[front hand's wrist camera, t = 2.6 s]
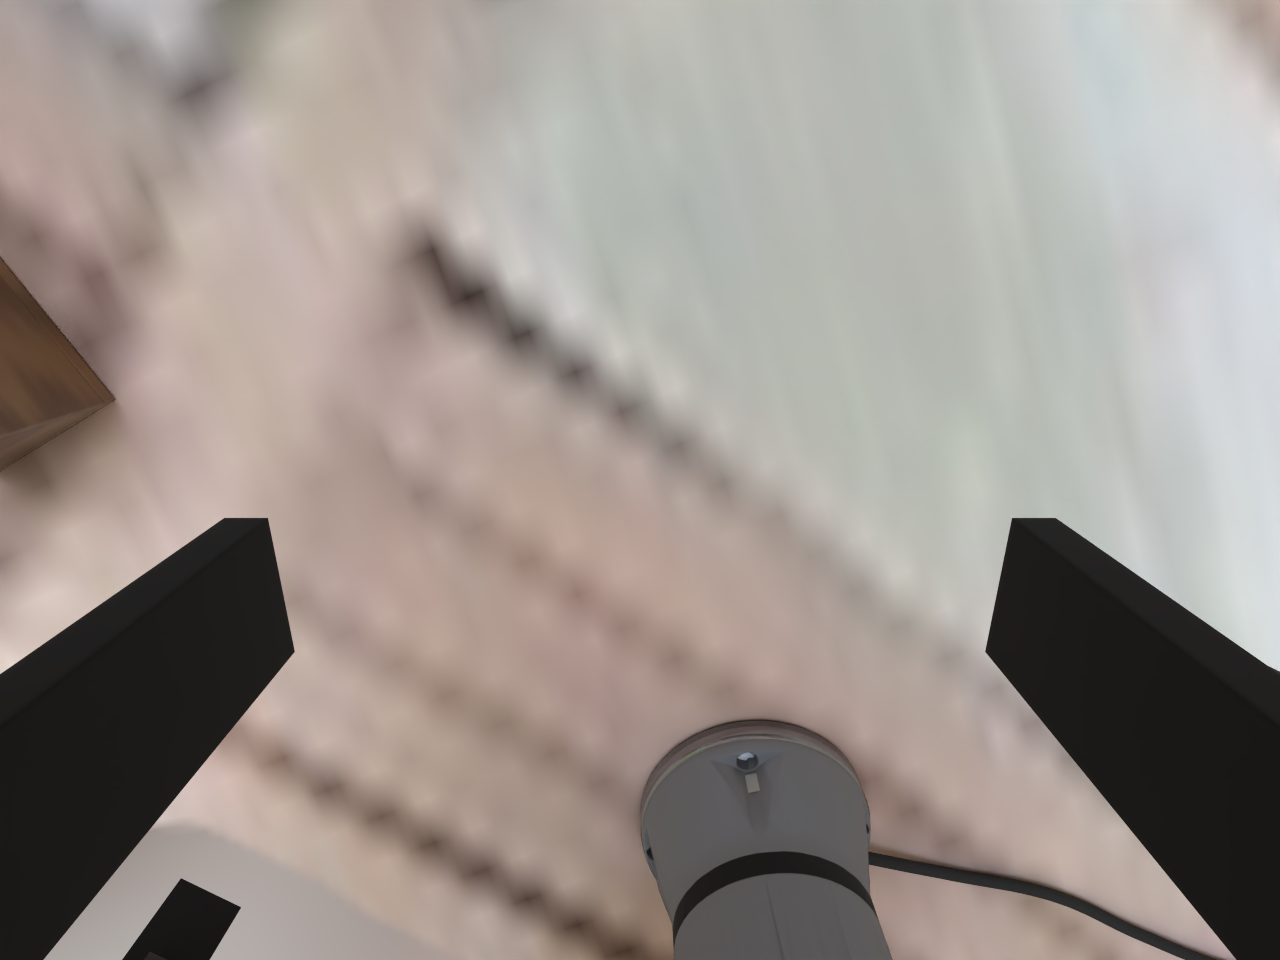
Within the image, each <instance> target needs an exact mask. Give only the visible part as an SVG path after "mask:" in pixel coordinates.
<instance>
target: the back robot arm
mask: <svg viewBox="0 0 1280 960" xmlns="http://www.w3.org/2000/svg"><path fill="white" fill-rule="evenodd" d="M641 840H642V846H643V850H644V853H645V856H646V859H647V862H648V864H649V867H650V869H651V871H652V873H653V875H654V877H655V878H656V880H657V885H658V888H659V891H660V894H661V897H662V900H663V902H664V905H665V907H666V910H667V912H668V915H669V917H670V920H671V922H672V926H673V943H674V960H892V957H891V954H890V951H889V948H888V945H887V943H886V940H885V937H884V934H883V931H882V928H881V926H880V923H879V920H878V917H877V914H876V911H875V908H874V906H873V903H872V900H871V896H870V879H869V865H874V866H879V867H884V868H889V869H894V870H899V871H904V872H909V873H914V874H919V875H924V876H930V877H935V878H940V879H945V880H950V881H956V882H961V883H966V884H972V885H978V886H984V887H990V888H996V889H1002V890H1007V891H1012V892H1017V893H1022V894H1027V895H1031V896H1035V897H1039V898H1043V899H1046V900H1049V901H1053V902H1056V903H1059V904H1062V905H1064V906H1067V907H1070V908H1072V909H1075V910H1077V911H1079V912H1081V913H1084V914H1086V915H1088V916H1090V917H1092V918H1094V919H1096V920H1098V921H1100V922H1102V923H1104V924H1106V925H1108V926H1110V927H1112V928H1114V929H1116V930H1118V931H1120V932H1122V933H1124V934H1126V935H1128V936H1130V937H1133V938H1135V939H1137V940H1140V941H1142V942H1144V943H1147V944H1149V945H1151V946H1154V947H1156V948H1158V949H1161V950H1163V951H1165V952H1168V953H1170V954H1172V955H1175V956H1177V957H1180V958H1182V959H1185V960H1216V959H1213V958H1210V957H1208V956H1205V955H1202V954H1200V953H1197V952H1194V951H1192V950H1189V949H1187V948H1185V947H1182V946H1180V945H1177V944H1175V943H1173V942H1170V941H1168V940H1166V939H1163V938H1161V937H1159V936H1157V935H1154V934H1152V933H1150V932H1147V931H1145V930H1143V929H1140V928H1138V927H1136V926H1133V925H1131V924H1129V923H1127V922H1125V921H1123V920H1121V919H1119V918H1117V917H1115V916H1113V915H1111V914H1109V913H1107V912H1105V911H1103V910H1101V909H1099V908H1097V907H1095V906H1093V905H1091V904H1089V903H1087V902H1085V901H1083V900H1080V899H1078V898H1076V897H1073V896H1070V895H1068V894H1065V893H1062V892H1059V891H1056V890H1053V889H1050V888H1046V887H1043V886H1039V885H1036V884H1032V883H1028V882H1023V881H1019V880H1014V879H1009V878H1004V877H998V876H992V875H986V874H980V873H974V872H969V871H963V870H958V869H953V868H948V867H943V866H938V865H932V864H927V863H922V862H917V861H912V860H907V859H902V858H897V857H892V856H887V855H882V854H878V853H873V852H868V848H869V842H870V814H869V807H868V803H867V800H866V797H865V795H864V792H863V790H862V787H861V785H860V782H859V780H858V777H857V775H856V773H855V771H854V769H853V767H852V765H851V764H850V763H849V761H848V760H847V758H846V757H845V756H844V755H843V754H842V753H841V752H840V751H839V750H838V749H837V748H836V747H835V746H834V745H832V744H831V743H829V742H828V741H827V740H825V739H824V738H822V737H820V736H818V735H817V734H815V733H812V732H810V731H808V730H806V729H803V728H800V727H797V726H793V725H789V724H785V723H779V722H772V721H744V722H736V723H730V724H726V725H721V726H718V727H715V728H712V729H709V730H706V731H704V732H701V733H699V734H697V735H695V736H693V737H691V738H689V739H688V740H686V741H684V742H683V743H681V744H680V745H678V746H677V747H676V748H675V749H673V750H672V751H671V752H670V753H669V754H668V755H667V756H666V757H665V758H664V759H663V760H662V761H661V762H660V763H659V765H658V766H657V767H656V769H655V770H654V771H653V773H652V774H651V776H650V778H649V780H648V782H647V785H646V787H645V790H644V793H643V797H642V803H641ZM240 908H241V907H239V906H237V905H235V904H233V903H231V902H229V901H227V900H225V899H223V898H221V897H219V896H216V895H214V894H212V893H210V892H208V891H206V890H204V889H202V888H200V887H198V886H196V885H194V884H192V883H190V882H187V881H185V880H183V879H180V881H179V882H178V883H177V885H176V886H175V888H174V889H173V890H172V892H171V893H170V894H169V896H168V897H167V899H166V900H165V901H164V903H163V904H162V905H161V907H160V908H159V910H158V911H157V912H156V914H155V915H154V917H153V918H152V919H151V921H150V922H149V924H148V925H147V926H146V928H145V929H144V930H143V932H142V933H141V935H140V936H139V937H138V939H137V940H136V941H135V943H134V944H133V946H132V947H131V948H130V950H129V951H128V953H127V954H126V955H125V957H124V958H123V959H122V960H210V958H211V956H212V955H213V953H214V951H215V950H216V948H217V946H218V945H219V943H220V941H221V940H222V938H223V936H224V935H225V933H226V932H227V930H228V928H229V927H230V925H231V923H232V922H233V920H234V918H235V917H236V915H237V913H238V911H239V910H240Z"/></svg>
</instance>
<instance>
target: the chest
mask: <svg viewBox="0 0 1280 960" xmlns="http://www.w3.org/2000/svg"><path fill="white" fill-rule="evenodd" d="M114 400H115V399H114V397H113V396H112V395H111V394H110V393H109V391H108V390H107V389H106V388H105V386H104V385H103V384H102V383H101V381H100V380H99V379H98V378H97V376H96V375H95V374H94V373H93V372H92V370H91V369H90V368H89V367H88V365H87V364H86V363H85V362H84V360H83V359H82V358H81V357H80V356H79V354H78V353H77V352H76V351H75V349H74V348H73V347H72V346H71V344H70V343H69V342H68V341H67V340H66V338H65V337H64V336H63V335H62V333H61V332H60V331H59V330H58V328H57V327H56V326H55V325H54V324H53V322H52V321H51V320H50V319H49V317H48V316H47V315H46V314H45V312H44V311H43V310H42V309H41V308H40V306H39V305H38V304H37V303H36V301H35V300H34V299H33V298H32V296H31V295H30V294H29V293H28V292H27V290H26V289H25V288H24V287H23V285H22V284H21V283H20V282H19V280H18V279H17V278H16V277H15V276H14V274H13V273H12V272H11V271H10V269H9V268H8V267H7V266H6V264H5V263H4V262H3V261H2V260H1V258H0V471H1V470H2V469H4V468H6V467H7V466H9V465H10V464H12V463H14V462H15V461H17V460H19V459H20V458H22V457H23V456H25V455H27V454H28V453H30V452H31V451H33V450H35V449H36V448H38V447H40V446H41V445H43V444H44V443H46V442H48V441H49V440H51V439H52V438H54V437H56V436H57V435H59V434H61V433H62V432H64V431H65V430H67V429H69V428H70V427H72V426H73V425H75V424H77V423H78V422H80V421H82V420H83V419H85V418H86V417H88V416H90V415H91V414H93V413H94V412H96V411H98V410H99V409H101V408H103V407H104V406H106V405H107V404H109V403H111V402H112V401H114Z"/></svg>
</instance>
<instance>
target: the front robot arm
mask: <svg viewBox="0 0 1280 960" xmlns="http://www.w3.org/2000/svg"><path fill="white" fill-rule="evenodd" d="M294 652H295V651H294V646H293V641H292V636H291V631H290V626H289V621H288V616H287V611H286V606H285V601H284V596H283V591H282V586H281V581H280V576H279V571H278V566H277V561H276V556H275V552H274V547H273V542H272V537H271V532H270V527H269V522H268V518H224V519H222V520H221V521H220V522H218V523H217V524H215V525H214V526H212V527H211V528H209V529H208V530H207V531H205V532H204V533H202V534H201V535H199V536H198V537H197V538H195V539H194V540H192V541H191V542H189V543H188V544H187V545H185V546H184V547H182V548H181V549H179V550H178V551H176V552H175V553H174V554H172V555H171V556H169V557H168V558H166V559H165V560H164V561H162V562H161V563H159V564H158V565H156V566H155V567H154V568H152V569H151V570H149V571H148V572H146V573H145V574H143V575H142V576H141V577H139V578H138V579H136V580H135V581H133V582H132V583H131V584H129V585H128V586H126V587H125V588H123V589H122V590H121V591H119V592H118V593H116V594H115V595H113V596H112V597H111V598H109V599H108V600H106V601H105V602H103V603H102V604H100V605H99V606H98V607H96V608H95V609H93V610H92V611H90V612H89V613H88V614H86V615H85V616H83V617H82V618H80V619H79V620H78V621H76V622H75V623H73V624H72V625H70V626H69V627H67V628H66V629H65V630H63V631H62V632H60V633H59V634H57V635H56V636H55V637H53V638H52V639H50V640H49V641H47V642H46V643H45V644H43V645H42V646H40V647H39V648H37V649H36V650H34V651H33V652H32V653H30V654H29V655H27V656H26V657H24V658H23V659H22V660H20V661H19V662H17V663H16V664H14V665H13V666H12V667H10V668H9V669H7V670H6V671H4V672H3V673H1V674H0V960H43V959H44V958H45V957H46V956H47V955H48V953H49V952H50V951H51V950H52V948H53V947H54V946H55V945H56V943H57V942H58V941H59V940H60V939H61V937H62V936H63V935H64V934H65V933H66V931H67V930H68V929H69V928H70V926H71V925H72V924H73V923H74V921H75V920H76V919H77V918H78V917H79V915H80V914H81V913H82V912H83V910H84V909H85V908H86V907H87V906H88V904H89V903H90V902H91V901H92V899H93V898H94V897H95V896H96V895H97V893H98V892H99V891H100V890H101V888H102V887H103V886H104V885H105V883H106V882H107V881H108V880H109V879H110V877H111V876H112V875H113V874H114V872H115V871H116V870H117V869H118V867H119V866H120V865H121V864H122V863H123V861H124V860H125V859H126V858H127V856H128V855H129V854H130V853H131V852H132V850H133V849H134V848H135V847H136V845H137V844H138V843H139V842H140V840H141V839H142V838H143V837H144V836H145V834H146V833H147V832H148V831H149V830H150V828H151V827H152V826H153V825H154V823H155V822H156V821H157V820H158V819H159V817H160V816H161V815H162V814H163V812H164V811H165V810H166V809H167V808H168V806H169V805H170V804H171V803H172V801H173V800H174V799H175V798H176V796H177V795H178V794H179V793H180V792H181V790H182V789H183V788H184V787H185V785H186V784H187V783H188V782H189V781H190V779H191V778H192V777H193V776H194V774H195V773H196V772H197V771H198V770H199V768H200V767H201V766H202V765H203V763H204V762H205V761H206V760H207V758H208V757H209V756H210V755H211V754H212V752H213V751H214V750H215V749H216V747H217V746H218V745H219V744H220V743H221V741H222V740H223V739H224V738H225V736H226V735H227V734H228V733H229V732H230V730H231V729H232V728H233V727H234V725H235V724H236V723H237V722H238V720H239V719H240V718H241V717H242V716H243V714H244V713H245V712H246V711H247V709H248V708H249V707H250V706H251V705H252V703H253V702H254V701H255V700H256V698H257V697H258V696H259V695H260V694H261V692H262V691H263V690H264V689H265V687H266V686H267V685H268V684H269V682H270V681H271V680H272V679H273V678H274V676H275V675H276V674H277V673H278V671H279V670H280V669H281V668H282V667H283V665H284V664H285V663H286V662H287V660H288V659H289V658H290V657H291V656H292V654H293V653H294ZM985 652H986V653H987V654H988V656H989V657H990V658H991V659H992V660H993V662H994V663H995V664H996V665H997V667H998V668H999V669H1000V670H1001V671H1002V673H1003V674H1004V675H1005V676H1006V678H1007V679H1008V680H1009V681H1010V682H1011V684H1012V685H1013V686H1014V687H1015V689H1016V690H1017V691H1018V692H1019V694H1020V695H1021V696H1022V697H1023V698H1024V700H1025V701H1026V702H1027V703H1028V705H1029V706H1030V707H1031V708H1032V709H1033V711H1034V712H1035V713H1036V714H1037V716H1038V717H1039V718H1040V719H1041V720H1042V722H1043V723H1044V724H1045V725H1046V727H1047V728H1048V729H1049V730H1050V732H1051V733H1052V734H1053V735H1054V736H1055V738H1056V739H1057V740H1058V741H1059V743H1060V744H1061V745H1062V746H1063V747H1064V749H1065V750H1066V751H1067V752H1068V754H1069V755H1070V756H1071V757H1072V758H1073V760H1074V761H1075V762H1076V763H1077V765H1078V766H1079V767H1080V768H1081V770H1082V771H1083V772H1084V773H1085V774H1086V776H1087V777H1088V778H1089V779H1090V781H1091V782H1092V783H1093V784H1094V785H1095V787H1096V788H1097V789H1098V790H1099V792H1100V793H1101V794H1102V795H1103V796H1104V798H1105V799H1106V800H1107V801H1108V803H1109V804H1110V805H1111V806H1112V808H1113V809H1114V810H1115V811H1116V812H1117V814H1118V815H1119V816H1120V817H1121V819H1122V820H1123V821H1124V822H1125V823H1126V825H1127V826H1128V827H1129V828H1130V830H1131V831H1132V832H1133V833H1134V834H1135V836H1136V837H1137V838H1138V839H1139V841H1140V842H1141V843H1142V844H1143V845H1144V847H1145V848H1146V849H1147V850H1148V852H1149V853H1150V854H1151V855H1152V857H1153V858H1154V859H1155V860H1156V861H1157V863H1158V864H1159V865H1160V866H1161V868H1162V869H1163V870H1164V871H1165V872H1166V874H1167V875H1168V876H1169V877H1170V879H1171V880H1172V881H1173V882H1174V883H1175V885H1176V886H1177V887H1178V888H1179V890H1180V891H1181V892H1182V893H1183V895H1184V896H1185V897H1186V898H1187V899H1188V901H1189V902H1190V903H1191V904H1192V906H1193V907H1194V908H1195V909H1196V910H1197V912H1198V913H1199V914H1200V915H1201V917H1202V918H1203V919H1204V920H1205V921H1206V923H1207V924H1208V925H1209V926H1210V928H1211V929H1212V930H1213V931H1214V933H1215V934H1216V935H1217V936H1218V937H1219V939H1220V940H1221V941H1222V942H1223V944H1224V945H1225V946H1226V947H1227V948H1228V950H1229V951H1230V952H1231V953H1232V955H1233V956H1234V957H1235V958H1236V959H1237V960H1280V672H1279V671H1277V670H1275V669H1273V668H1271V667H1269V666H1267V665H1266V664H1264V663H1263V662H1261V661H1260V660H1258V659H1257V658H1256V657H1254V656H1253V655H1251V654H1250V653H1248V652H1247V651H1246V650H1244V649H1243V648H1241V647H1240V646H1238V645H1237V644H1235V643H1234V642H1233V641H1231V640H1230V639H1228V638H1227V637H1225V636H1224V635H1223V634H1221V633H1220V632H1218V631H1217V630H1215V629H1214V628H1213V627H1211V626H1210V625H1208V624H1207V623H1205V622H1204V621H1202V620H1201V619H1200V618H1198V617H1197V616H1195V615H1194V614H1192V613H1191V612H1190V611H1188V610H1187V609H1185V608H1184V607H1182V606H1181V605H1180V604H1178V603H1177V602H1175V601H1174V600H1172V599H1171V598H1169V597H1168V596H1167V595H1165V594H1164V593H1162V592H1161V591H1159V590H1158V589H1157V588H1155V587H1154V586H1152V585H1151V584H1149V583H1148V582H1147V581H1145V580H1144V579H1142V578H1141V577H1139V576H1138V575H1136V574H1135V573H1134V572H1132V571H1131V570H1129V569H1128V568H1126V567H1125V566H1124V565H1122V564H1121V563H1119V562H1118V561H1116V560H1115V559H1114V558H1112V557H1111V556H1109V555H1108V554H1106V553H1105V552H1104V551H1102V550H1101V549H1099V548H1098V547H1096V546H1095V545H1093V544H1092V543H1091V542H1089V541H1088V540H1086V539H1085V538H1083V537H1082V536H1081V535H1079V534H1078V533H1076V532H1075V531H1073V530H1072V529H1071V528H1069V527H1068V526H1066V525H1065V524H1063V523H1062V522H1060V521H1059V520H1058V519H1056V518H1012V522H1011V527H1010V532H1009V537H1008V542H1007V547H1006V552H1005V556H1004V561H1003V566H1002V571H1001V576H1000V581H999V586H998V591H997V596H996V601H995V606H994V611H993V616H992V621H991V626H990V631H989V636H988V641H987V646H986V651H985Z"/></svg>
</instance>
